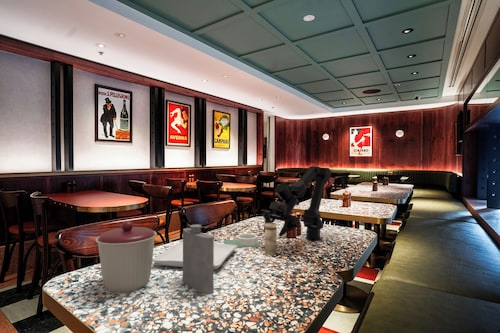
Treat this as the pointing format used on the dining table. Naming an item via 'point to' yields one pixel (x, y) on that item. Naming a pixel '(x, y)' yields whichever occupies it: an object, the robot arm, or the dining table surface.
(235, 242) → the octagonal cup coaster
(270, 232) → the tan tapered tumbler
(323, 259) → the dining table surface
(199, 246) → the hip flask
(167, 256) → the square plate
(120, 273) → the canister
